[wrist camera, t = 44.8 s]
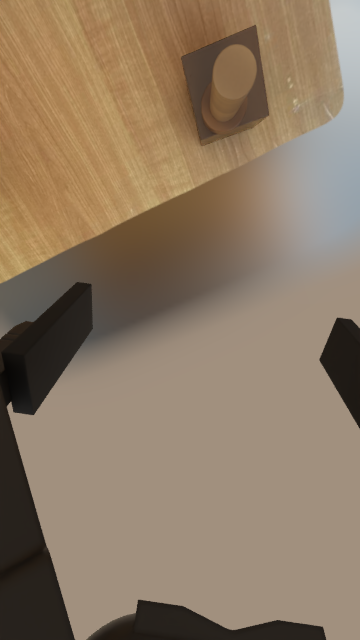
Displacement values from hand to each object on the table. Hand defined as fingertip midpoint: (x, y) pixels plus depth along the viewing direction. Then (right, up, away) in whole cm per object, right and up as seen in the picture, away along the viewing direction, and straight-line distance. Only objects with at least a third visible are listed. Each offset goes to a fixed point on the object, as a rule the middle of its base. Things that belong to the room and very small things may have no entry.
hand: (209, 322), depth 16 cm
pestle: (+3, +24, +17) cm, 30 cm away
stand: (+4, +31, +27) cm, 42 cm away
